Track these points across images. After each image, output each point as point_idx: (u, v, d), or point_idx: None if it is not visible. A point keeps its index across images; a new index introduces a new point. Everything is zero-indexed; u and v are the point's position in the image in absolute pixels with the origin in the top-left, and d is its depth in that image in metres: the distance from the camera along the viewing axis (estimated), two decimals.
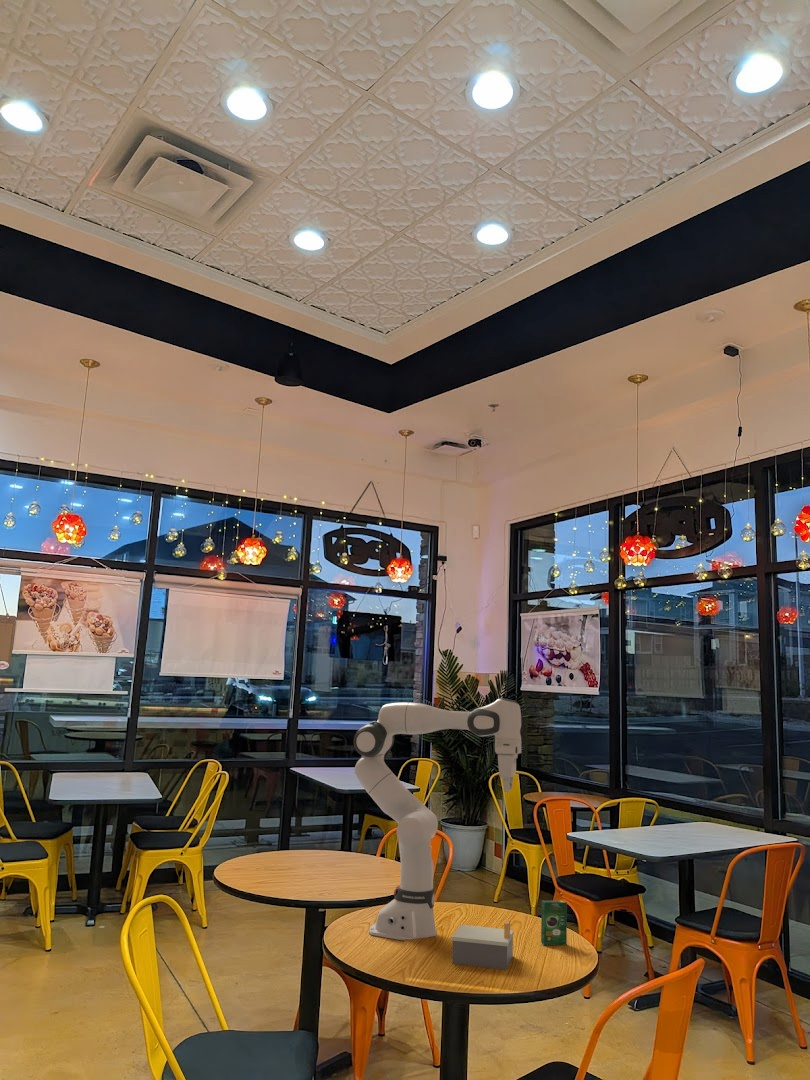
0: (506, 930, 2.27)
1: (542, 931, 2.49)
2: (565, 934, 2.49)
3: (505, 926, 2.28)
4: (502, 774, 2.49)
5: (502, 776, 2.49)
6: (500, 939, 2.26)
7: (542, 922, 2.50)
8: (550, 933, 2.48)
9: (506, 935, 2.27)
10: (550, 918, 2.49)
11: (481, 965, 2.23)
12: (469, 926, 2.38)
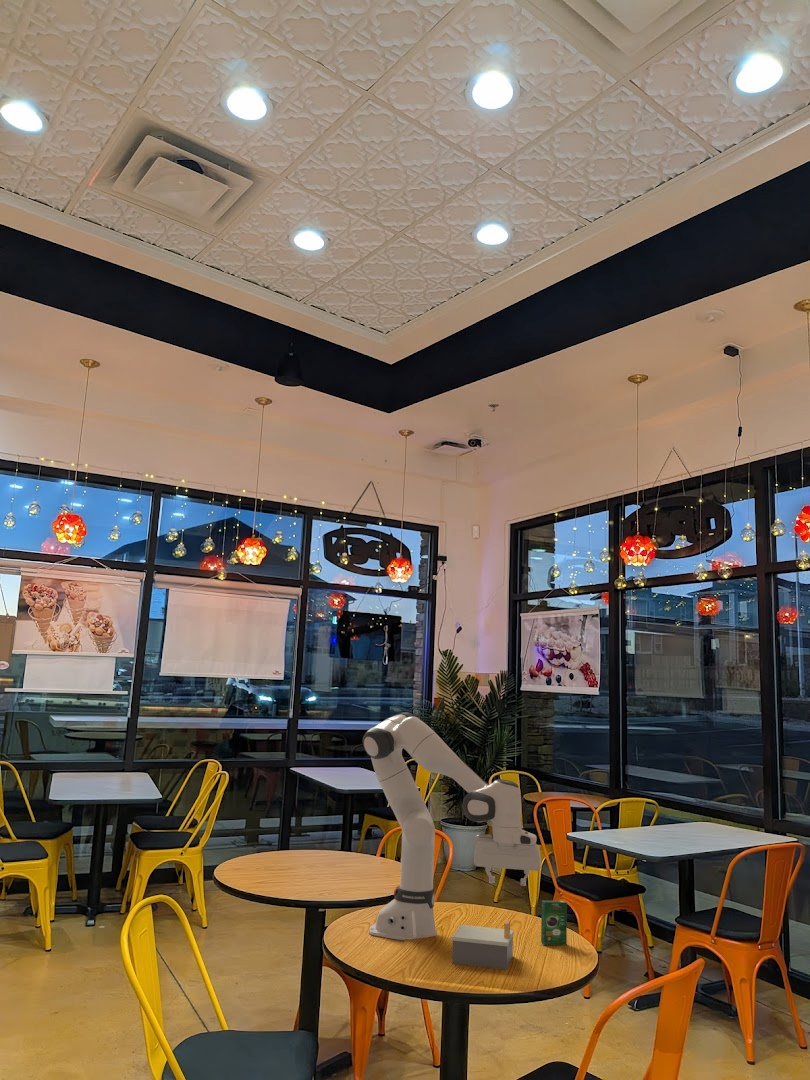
0: (506, 930, 2.27)
1: (542, 931, 2.49)
2: (565, 934, 2.49)
3: (505, 926, 2.28)
4: (540, 866, 2.30)
5: None
6: (500, 939, 2.26)
7: (542, 922, 2.50)
8: (550, 933, 2.48)
9: (506, 935, 2.27)
10: (550, 918, 2.49)
11: (481, 965, 2.23)
12: (469, 926, 2.38)
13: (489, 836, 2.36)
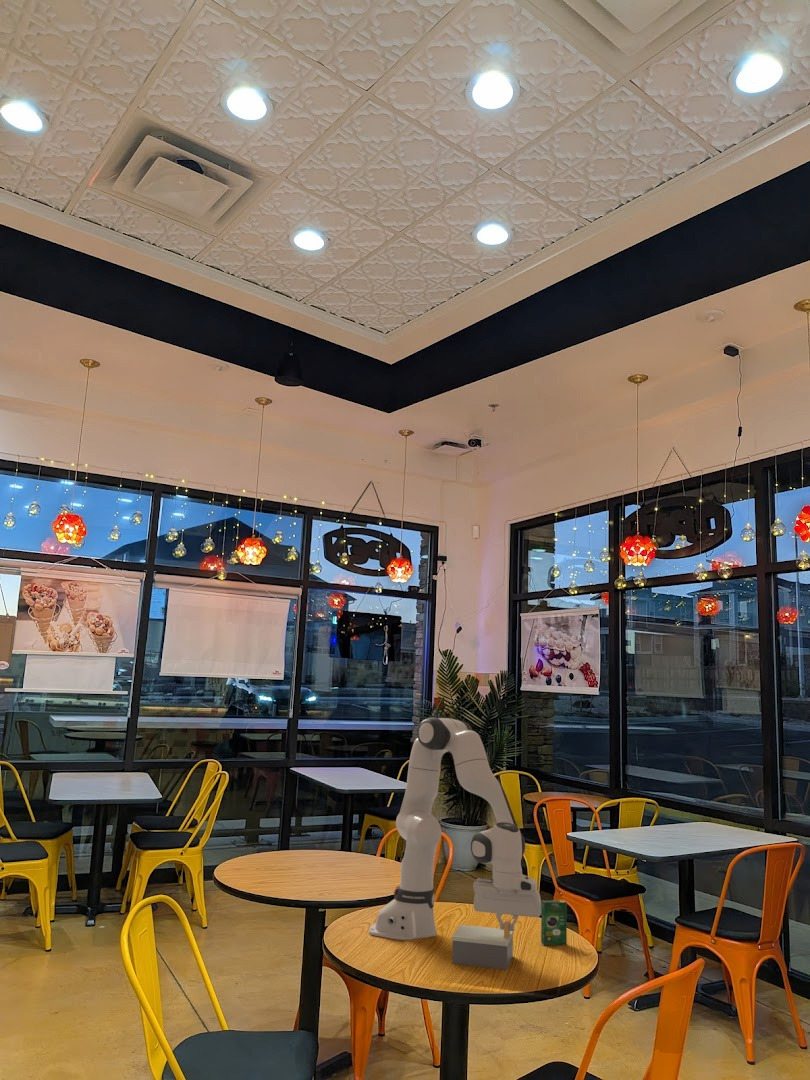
0: (506, 930, 2.27)
1: (542, 931, 2.49)
2: (565, 934, 2.49)
3: (505, 926, 2.28)
4: (540, 913, 2.28)
5: None
6: (500, 939, 2.26)
7: (542, 922, 2.50)
8: (550, 933, 2.48)
9: (506, 935, 2.27)
10: (550, 918, 2.49)
11: (481, 965, 2.23)
12: (469, 926, 2.38)
13: (489, 881, 2.33)
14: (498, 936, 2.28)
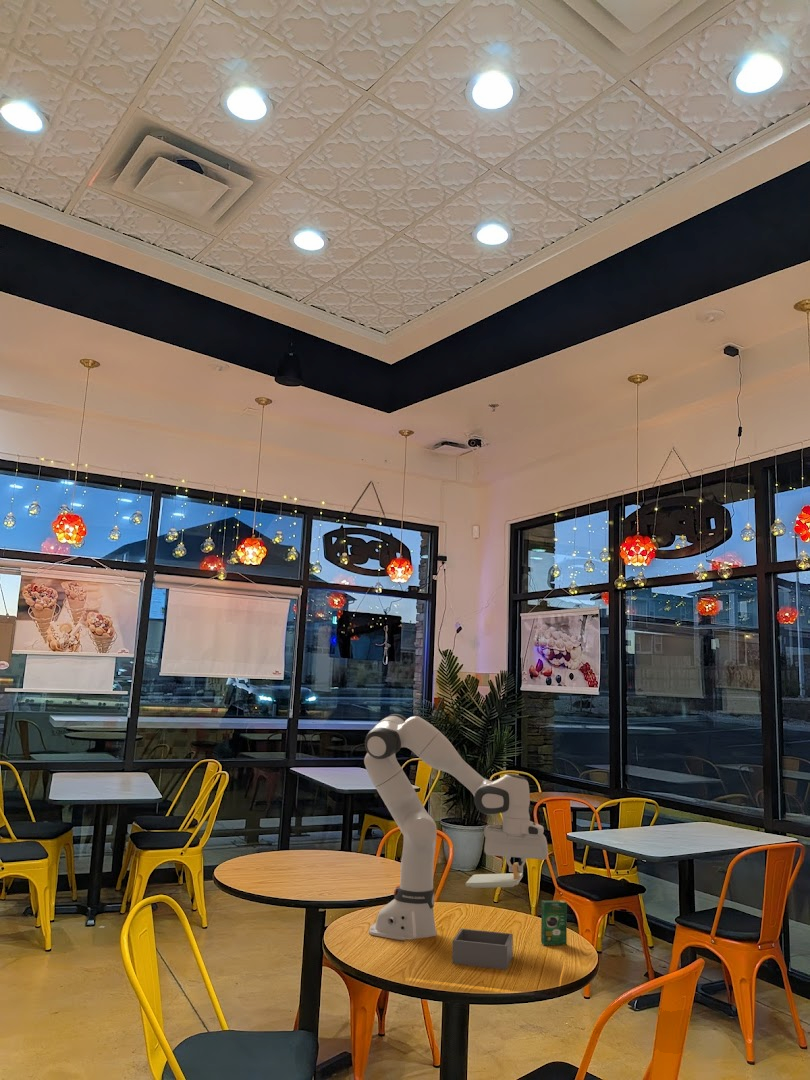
0: (515, 871, 2.45)
1: (542, 931, 2.49)
2: (565, 934, 2.49)
3: (513, 868, 2.45)
4: (547, 855, 2.45)
5: None
6: (510, 880, 2.43)
7: (542, 922, 2.50)
8: (550, 933, 2.48)
9: (515, 876, 2.44)
10: (550, 918, 2.49)
11: (481, 965, 2.23)
12: (481, 874, 2.55)
13: (499, 827, 2.51)
14: (508, 878, 2.46)
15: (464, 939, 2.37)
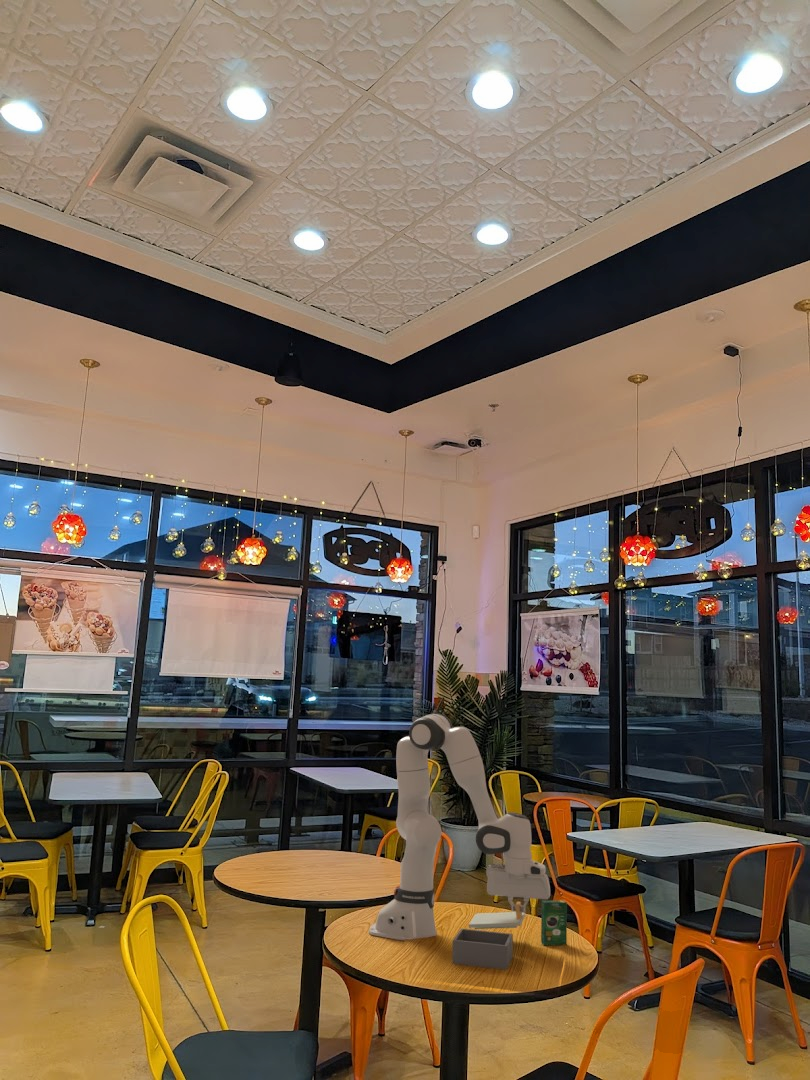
0: (518, 911, 2.45)
1: (542, 931, 2.49)
2: (565, 934, 2.49)
3: (516, 908, 2.45)
4: (549, 895, 2.45)
5: (548, 897, 2.45)
6: (513, 920, 2.43)
7: (542, 922, 2.50)
8: (550, 933, 2.48)
9: (518, 916, 2.45)
10: (550, 918, 2.49)
11: (481, 965, 2.23)
12: (484, 913, 2.55)
13: (501, 866, 2.51)
14: (511, 918, 2.46)
15: (464, 939, 2.37)
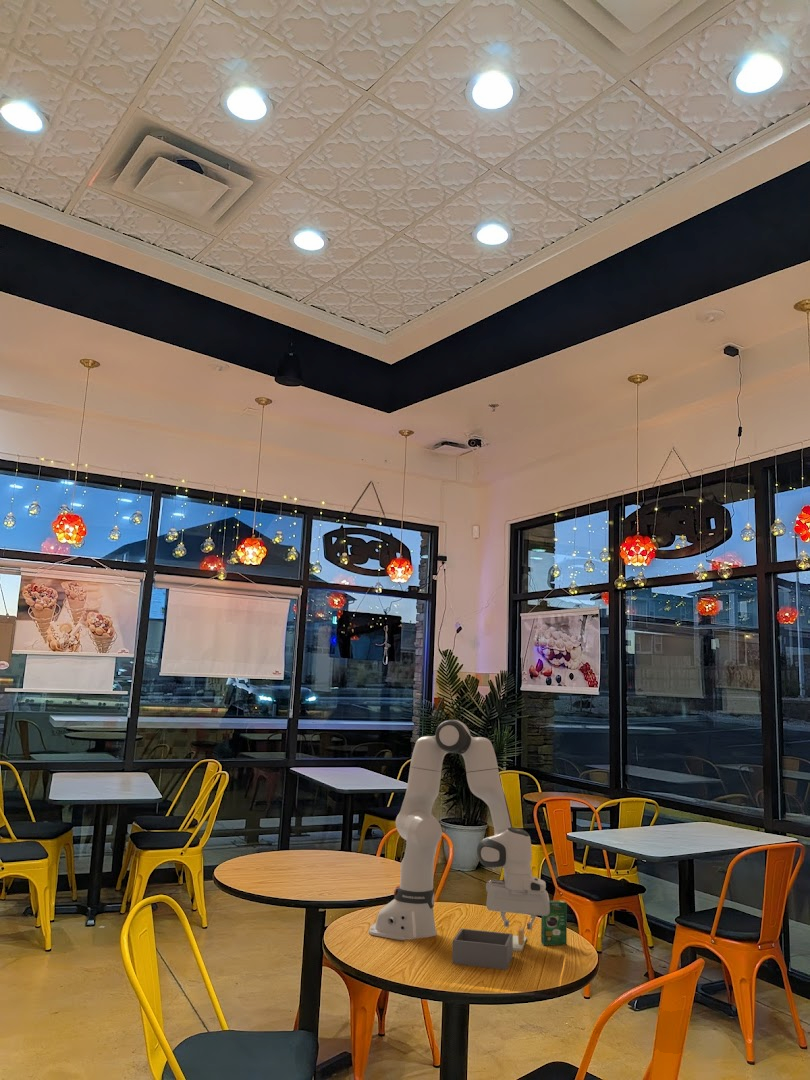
0: (520, 937, 2.44)
1: (542, 931, 2.49)
2: (565, 934, 2.49)
3: (519, 933, 2.44)
4: (549, 912, 2.44)
5: (548, 914, 2.44)
6: (515, 945, 2.42)
7: (542, 922, 2.50)
8: (550, 933, 2.48)
9: (520, 941, 2.43)
10: (550, 918, 2.49)
11: (481, 965, 2.23)
12: None
13: (501, 882, 2.50)
14: (513, 942, 2.45)
15: (464, 939, 2.37)
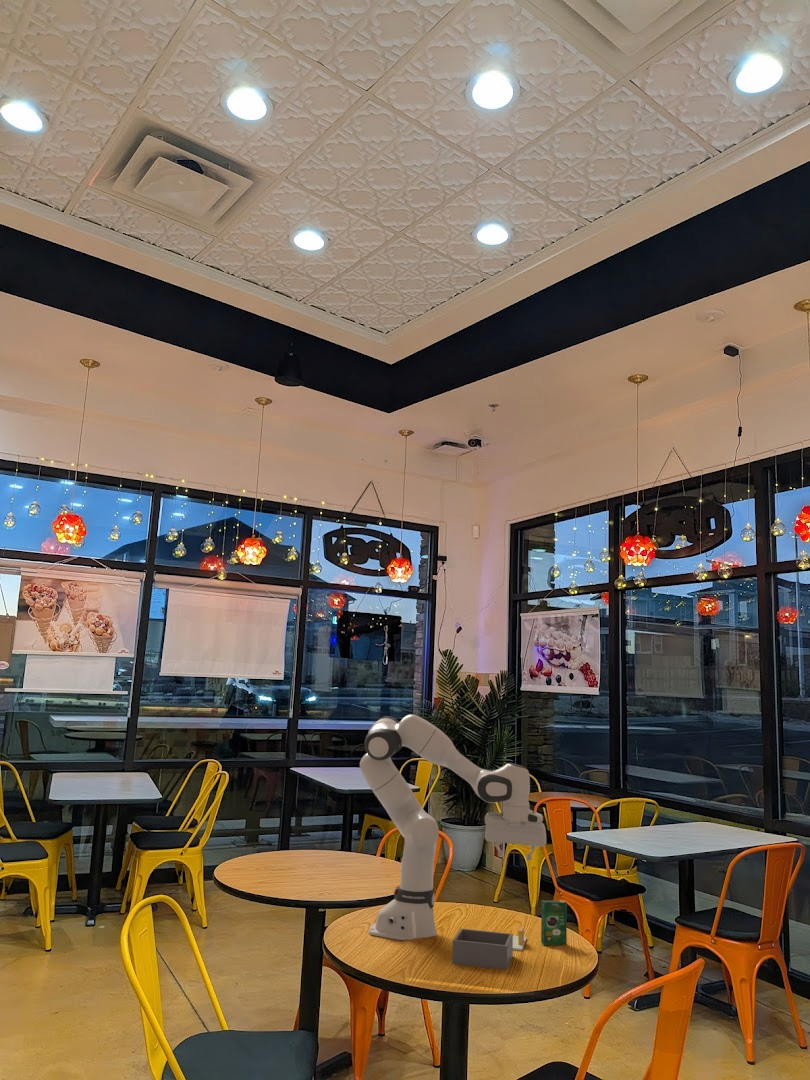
0: (520, 937, 2.44)
1: (542, 931, 2.49)
2: (565, 934, 2.49)
3: (519, 933, 2.44)
4: (545, 843, 2.52)
5: (544, 845, 2.52)
6: (515, 945, 2.42)
7: (542, 922, 2.50)
8: (550, 933, 2.48)
9: (520, 942, 2.43)
10: (550, 918, 2.49)
11: (481, 965, 2.23)
12: None
13: (499, 814, 2.58)
14: (513, 942, 2.45)
15: (464, 939, 2.37)
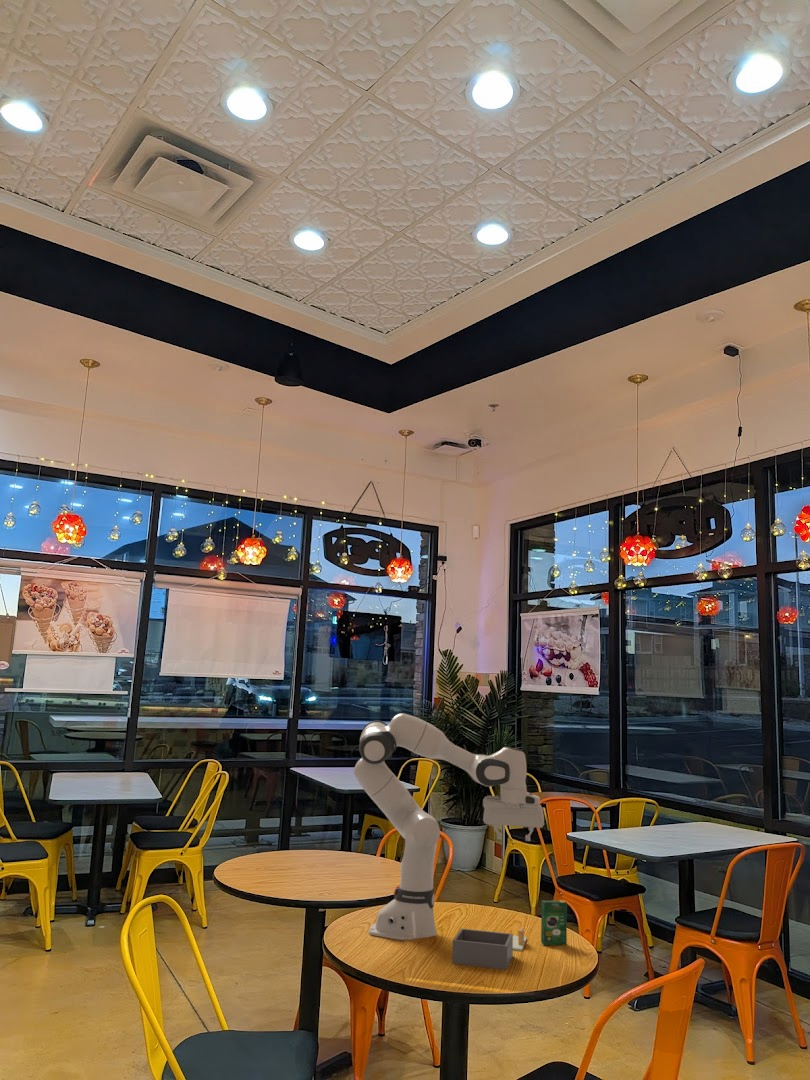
0: (520, 937, 2.44)
1: (542, 931, 2.49)
2: (565, 934, 2.49)
3: (519, 933, 2.44)
4: (543, 824, 2.56)
5: (542, 826, 2.56)
6: (515, 945, 2.42)
7: (542, 922, 2.50)
8: (550, 933, 2.48)
9: (520, 942, 2.43)
10: (550, 918, 2.49)
11: (481, 965, 2.23)
12: None
13: (497, 797, 2.62)
14: (513, 942, 2.45)
15: (464, 939, 2.37)
